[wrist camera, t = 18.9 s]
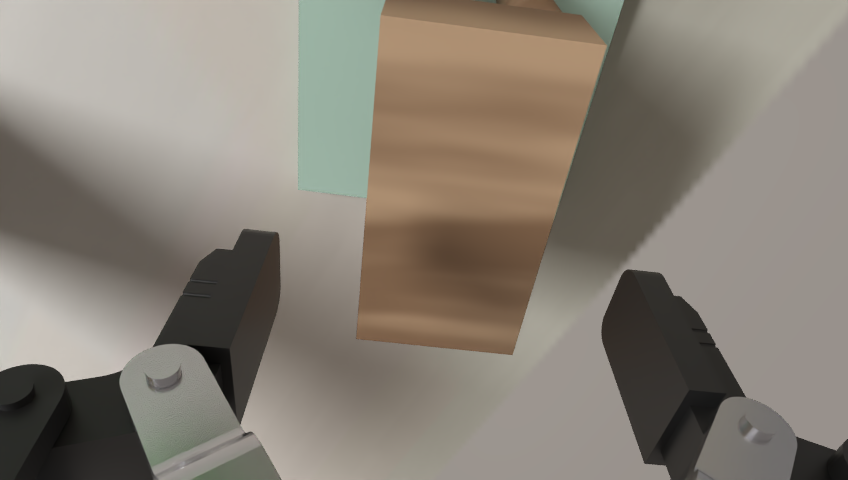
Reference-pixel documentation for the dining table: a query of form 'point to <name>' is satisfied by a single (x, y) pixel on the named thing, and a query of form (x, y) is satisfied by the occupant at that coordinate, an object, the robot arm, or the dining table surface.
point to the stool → (468, 165)
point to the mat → (365, 86)
